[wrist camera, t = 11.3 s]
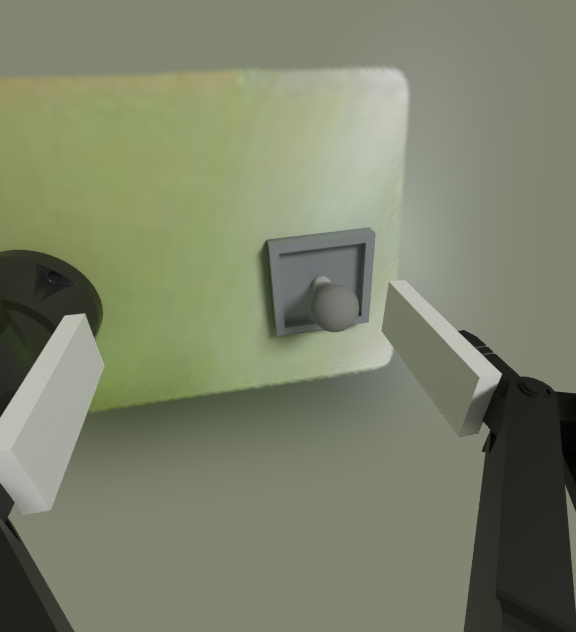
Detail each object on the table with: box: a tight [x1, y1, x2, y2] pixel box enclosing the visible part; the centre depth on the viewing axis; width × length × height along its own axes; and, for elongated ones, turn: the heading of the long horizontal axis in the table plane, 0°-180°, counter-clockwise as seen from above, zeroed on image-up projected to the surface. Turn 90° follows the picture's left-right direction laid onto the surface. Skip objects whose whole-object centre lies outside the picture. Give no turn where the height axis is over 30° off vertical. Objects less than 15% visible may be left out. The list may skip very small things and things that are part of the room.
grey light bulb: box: [311, 276, 359, 332], centre depth 47 cm, size 6×6×10 cm
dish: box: [267, 228, 375, 336], centre depth 51 cm, size 14×14×2 cm
